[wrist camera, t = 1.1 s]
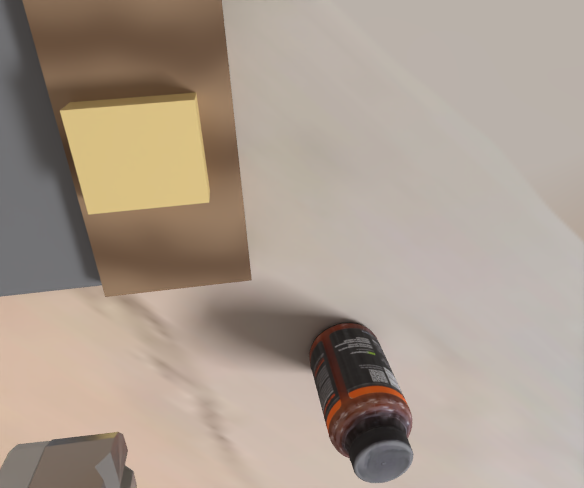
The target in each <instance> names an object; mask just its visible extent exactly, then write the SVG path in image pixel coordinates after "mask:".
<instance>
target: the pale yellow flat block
mask: <svg viewBox="0 0 584 488" xmlns="http://www.w3.org/2000/svg"><path fill="white" fill-rule="evenodd" d="M60 113H61V117H62V121H63V124H64V128H65V132H66V135H67V139H68V142H69V146H70V150H71V153H72V157H73V161H74V164H75V168H76V172H77V175H78V179H79V183H80V186H81V190H82V194H83V197H84V201H85V205H86V208H87V212H88V215H89V214H99V213H109V212H119V211H129V210H139V209H150V208H160V207H170V206H180V205H190V204H200V203H209V199H210V188H209V181H208V173H207V166H206V159H205V152H204V145H203V138H202V131H201V124H200V117H199V109H198V102H197V95H196V93H183V94H171V95H158V96H145V97H132V98H120V99H107V100H94V101H81V102H70V103H69V104H67V105H66V106H65V107H64V108H62V109H61V110H60Z"/></svg>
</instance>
